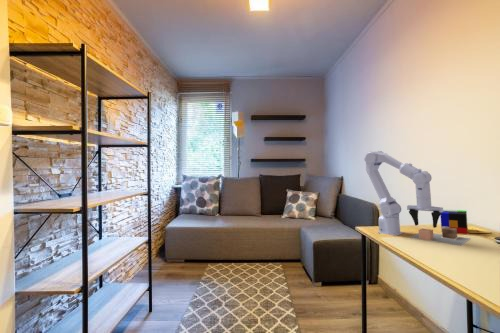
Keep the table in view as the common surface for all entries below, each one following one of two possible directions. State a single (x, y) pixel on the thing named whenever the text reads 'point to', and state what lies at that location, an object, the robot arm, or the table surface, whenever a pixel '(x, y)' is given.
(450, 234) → the walnut block
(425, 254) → the table surface
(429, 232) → the terracotta block
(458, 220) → the puzzle toy
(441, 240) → the mat
